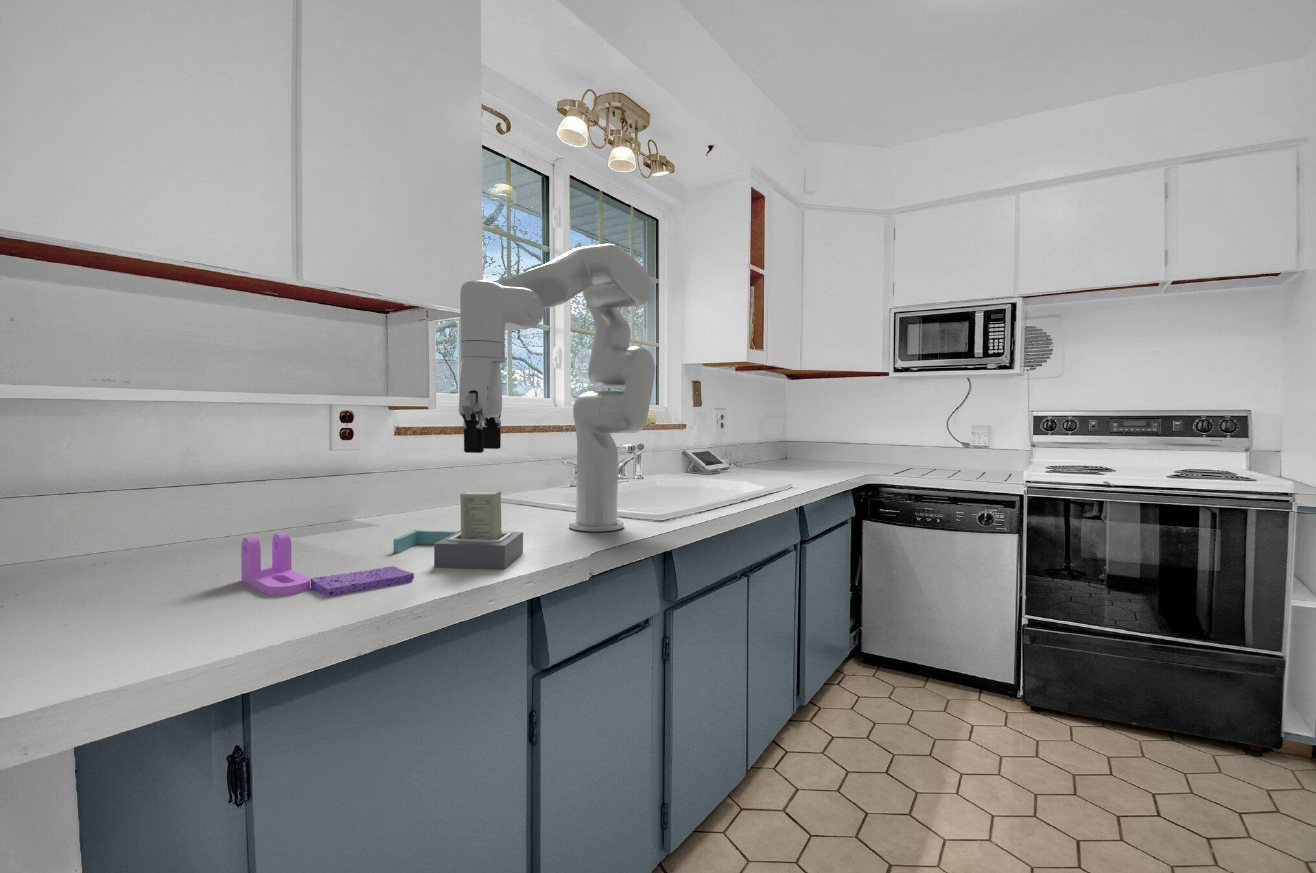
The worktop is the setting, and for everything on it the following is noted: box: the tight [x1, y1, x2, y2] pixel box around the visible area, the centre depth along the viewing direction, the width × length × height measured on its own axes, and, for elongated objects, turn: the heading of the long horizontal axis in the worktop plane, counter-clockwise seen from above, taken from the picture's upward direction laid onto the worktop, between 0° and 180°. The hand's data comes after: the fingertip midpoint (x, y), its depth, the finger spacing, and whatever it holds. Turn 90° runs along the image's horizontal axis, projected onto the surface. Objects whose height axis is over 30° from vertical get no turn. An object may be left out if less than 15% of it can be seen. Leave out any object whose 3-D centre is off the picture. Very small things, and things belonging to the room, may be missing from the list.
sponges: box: [310, 565, 415, 598], centre depth 92 cm, size 7×13×2 cm, turn 137°
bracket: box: [240, 532, 311, 597], centre depth 91 cm, size 13×6×7 cm, turn 51°
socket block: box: [433, 529, 524, 570], centre depth 109 cm, size 12×12×4 cm
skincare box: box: [459, 490, 502, 540], centre depth 108 cm, size 6×4×12 cm
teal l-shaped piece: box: [393, 529, 459, 554], centre depth 117 cm, size 9×11×2 cm
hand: (483, 450), depth 108 cm, fingers open, 9 cm apart
